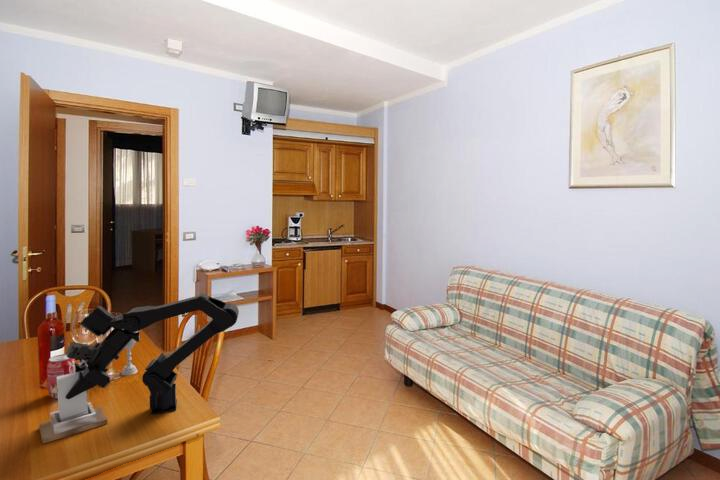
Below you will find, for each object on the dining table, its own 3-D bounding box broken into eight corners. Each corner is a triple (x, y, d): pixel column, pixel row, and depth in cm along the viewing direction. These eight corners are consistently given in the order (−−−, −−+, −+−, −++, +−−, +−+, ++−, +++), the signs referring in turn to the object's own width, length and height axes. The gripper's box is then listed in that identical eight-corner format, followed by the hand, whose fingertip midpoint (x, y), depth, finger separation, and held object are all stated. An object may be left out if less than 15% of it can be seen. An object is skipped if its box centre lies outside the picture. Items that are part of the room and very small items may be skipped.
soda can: (72, 387, 130) (70, 351, 129) (79, 393, 126) (77, 357, 125) (45, 394, 125) (43, 357, 124) (51, 402, 120) (49, 364, 119)
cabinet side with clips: (100, 410, 116) (100, 398, 116) (107, 423, 110) (106, 411, 109) (39, 428, 107) (38, 415, 106) (42, 443, 100) (41, 430, 100)
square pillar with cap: (85, 410, 112) (83, 369, 111) (88, 417, 108) (86, 375, 107) (53, 419, 107) (50, 376, 106) (55, 427, 103) (52, 383, 102)
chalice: (135, 366, 147) (133, 318, 145) (144, 371, 143) (143, 322, 141) (114, 373, 141) (112, 323, 139) (123, 378, 137) (121, 327, 135)
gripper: (80, 322, 115) (34, 370, 109) (92, 340, 102) (40, 395, 95) (113, 343, 121) (71, 389, 115) (129, 361, 108) (82, 415, 101)
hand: (66, 396), depth 106 cm, fingers closed on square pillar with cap, 3 cm apart
